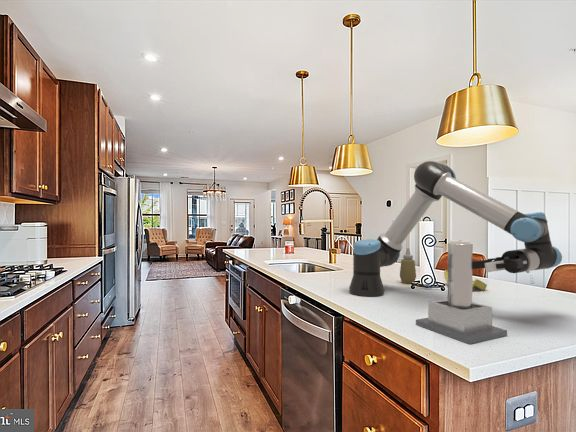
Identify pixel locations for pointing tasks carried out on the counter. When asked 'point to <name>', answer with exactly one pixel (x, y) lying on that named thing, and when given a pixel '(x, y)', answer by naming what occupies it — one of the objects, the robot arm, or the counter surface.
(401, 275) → the squeeze bottle
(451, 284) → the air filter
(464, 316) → the plate
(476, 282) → the banana
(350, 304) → the counter surface
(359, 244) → the robot arm
